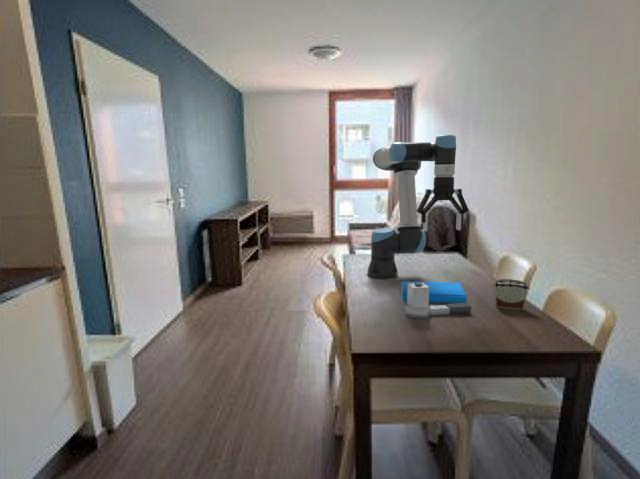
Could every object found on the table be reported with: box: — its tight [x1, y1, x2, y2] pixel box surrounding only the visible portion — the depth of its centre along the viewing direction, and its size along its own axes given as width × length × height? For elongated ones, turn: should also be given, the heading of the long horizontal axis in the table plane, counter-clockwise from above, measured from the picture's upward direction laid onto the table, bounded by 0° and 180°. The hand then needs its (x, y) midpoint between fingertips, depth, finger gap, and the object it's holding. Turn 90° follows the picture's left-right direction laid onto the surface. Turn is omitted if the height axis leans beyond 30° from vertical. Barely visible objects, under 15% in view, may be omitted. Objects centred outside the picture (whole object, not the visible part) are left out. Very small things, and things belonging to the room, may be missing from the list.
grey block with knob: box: [406, 281, 430, 310], centre depth 141 cm, size 6×6×9 cm
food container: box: [493, 278, 530, 311], centre depth 149 cm, size 12×6×10 cm, turn 71°
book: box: [401, 280, 467, 304], centre depth 162 cm, size 17×4×25 cm
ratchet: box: [405, 302, 472, 320], centre depth 142 cm, size 9×24×7 cm, turn 95°
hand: (441, 230), depth 153 cm, fingers open, 13 cm apart
